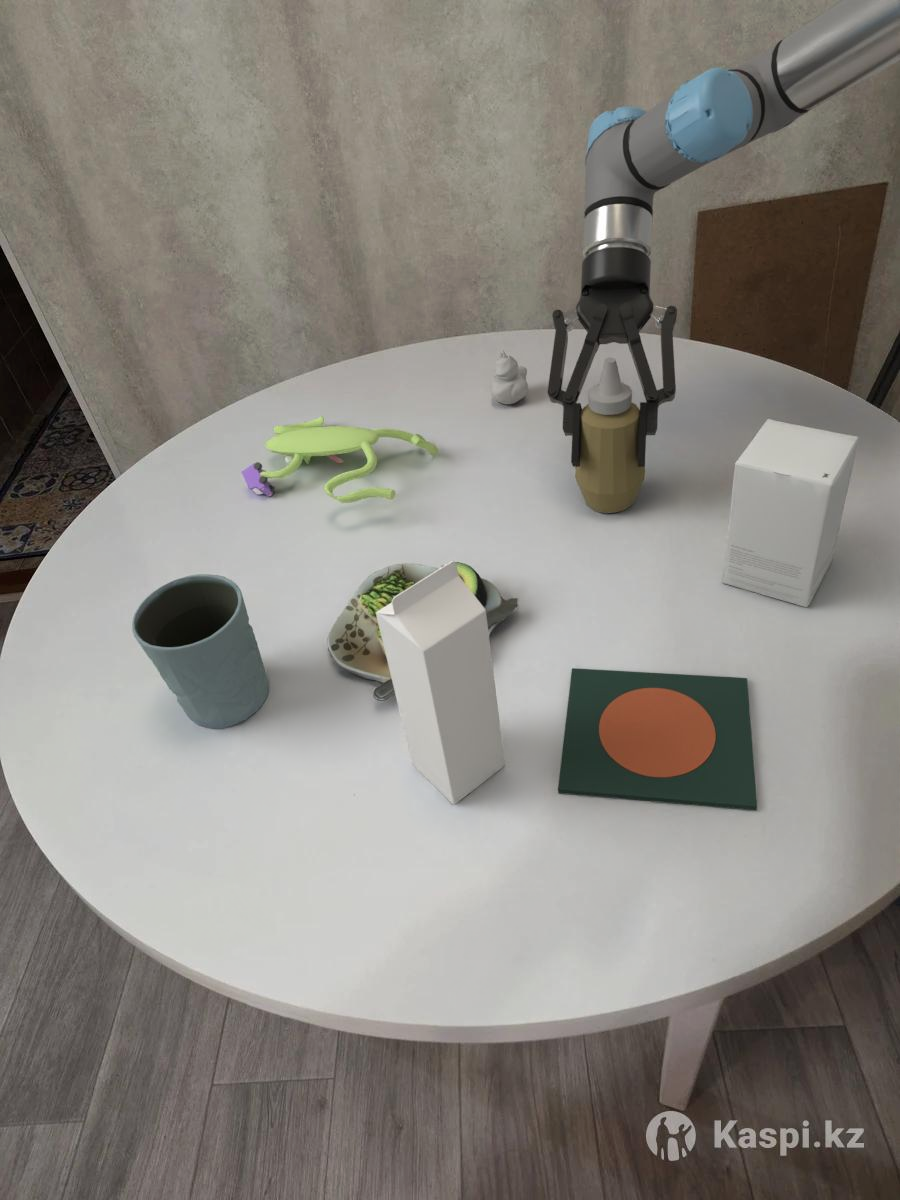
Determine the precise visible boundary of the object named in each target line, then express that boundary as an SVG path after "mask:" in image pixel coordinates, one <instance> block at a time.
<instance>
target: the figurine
mask: <svg viewBox="0 0 900 1200" xmlns="http://www.w3.org/2000/svg"><path fill="white" fill-rule="evenodd" d="M324 424H325V419H324V415H323V414H321V416H320V417H317V418H315V419H311V420H308V421H305V422H298V423H292V424H285V425H277V426H274V428H273V433H274V434H275V436H273V437H271V438H269V439H268V440H267V441H266V442H265V445H264V447H265V448H266V450H268V451H270V452H271V453H274V454H278V455H282V456H284V461H285V463H286V464H287V466H285V467H283V468H281V469H279V470H273V471H272V470H271V471H270V470H264V469H263V464H262V463H261V462H259V461H256V462H254V463H252V464H251V465H249V466H247V467H246V468H245V469H243V470H242V471H241V474H242V477H243V479H244V480H245V483H246V485H247V487H248V489H249V490H250V491H252V492H253V493H254V494H255V495H256V496H261V495H265V496H267V497H268V498H270V496H273V495H274V492H275V491H276V488H275V486H274V485H272V484H270V483H269V479H284V478H286V477H289V476H291V475H292V474H293V473H295V472H296V471H297V469H299V467H300V466H301V465H302V462H303V460H304V461H305V463H306V465H309V463H310V461H311V458H312V457H326V458H329V459H331V460H332V461H334V462H335V463H338V464H342V463H344V460H343V459H342V458H340V457H338V456H337V455H341V454H347V453H351V452H356V451H360V450H362V451H363V452H364V455H365V457H366V460H367V462H366V464H365V465H363V466H362V467H361V468H357V469H352V470H349V471H346V472H342V473H339V474H337V475H336V476H334V477H331V478H330V479H329V480H328V481H327V482H326V483H325V485H324V487H323V490H324V491H325V493H326V495H328V496H329V497H330V498H333V499H334V500H337V501H338V502H339V503H341V504H350V503H355V502H359V501H361V500H364V499H369V498H384V499H388V500H394V499H395V497H396V490H394V489H391V488H386V487H379V486H373V487H366V488H361V489H358V490H355V491H353V492H351V493H347V494H345V495H344V494H343V495H335V494H334V493H333V491H334V489H336V488H337V487H338V486H341V485H343V484H345V483H347V482H350V481H353V480H357V479H361V478H364V477H366V476H368V475H369V474H371V473H372V472H373V471H374V470H375V469H376V468H377V462H378V459H377V455H376V453H375V450H374V448H373V447H372V445H375V444H376V443H377V442H378V441H379V439H380V438H390V439H397V440H402V441H405V442H408V443H410V444H412V445H414V446H415V447H417V448H420V449H422V450H425V451H428V452H429V453H430V455H431V456H433V457H435V456H436V455H438V453H439V448H438V446H437V445H436V444H435V443H432V442H430V441H427V440H426V439H425V438H424V437H423V435H421V434H419V433H416V434H414V433H412V432H411V433H410V432H409V431H408V432H407V431H405V430H400V429H395V428H376V429H370V428H365V427H360V426H345V425H332V426H330V425H329V426H323V425H324Z"/></svg>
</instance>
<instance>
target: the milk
mask: <svg viewBox="0 0 900 1200" xmlns="http://www.w3.org/2000/svg"><path fill="white" fill-rule="evenodd" d="M456 562H457V561H455V560H451V561H449V562H447V563H448V564H447V563H446V564H444V565H445V566H443V567H441V566H440V568H438V570H437V571H435V572H433V573H432V574H430V575H428V576H427V577H425V578H424V579H422V580H420V581H419V582H417V583H416V584H414V585H412V586H411V587H409V588H408V589H406V590H404V591H403V592H401V593H399V594H398V595H396V596H395V597H394V598H393V600H392V603H390V604H388V605H387V606H385V607H384V608H382V609H380V610H379V611H377V612H376V616H377V620H378V625H379V629H380V633H381V637H382V641H383V645H384V649H385V653H386V657H387V662H388V666H389V670H390V674H391V678H392V682H393V686H394V690H395V698H396V703H397V706H398V710H399V714H400V720H401V723H402V728H403V731H404V737H405V740H406V744H407V748H408V752H409V754H410V755H409V756H410V760H411V764H412V766H413V767H414V768H415V769H416V770H417V771H419V773H420V774H421V775H422V776H423V777H424V778H426V780H428V781H429V782H430V784H432V785H433V786H434V787H435V788H436V789H437V790H438V791H439V792H440V793H441V794H442V795H443V796H444V797H445V798H446V799H447V800H449V802H450V803H452V804H453V805H456V804H457V803H459V802H460V801H461V800H462V799H464V798H465V797H466V796H468V795H469V794H471V793H472V792H473V791H474V790H476V789H477V788H478V787H480V786H481V785H482V784H484V783H485V782H486V781H487V780H489V779H490V778H491V777H492V776H494V775H495V774H497V772H499V771H500V770H501V769H503V768H504V767H505V766H506V760H505V752H504V745H503V735H502V730H501V720H500V713H499V704H498V696H497V690H496V681H495V672H494V665H493V658H492V648H491V643H490V635H489V633H488V625H487V617H486V610H485V608H484V607H483V606H482V604H481V603H480V602H479V601H478V599H477V598H476V597H475V596H474V594H473V593H472V592H471V590H470V589H469V588H468V587H467V585H466V584H465V583H464V582H463V580H462V579H461V578H460V577H459V575H458V570H457V564H456Z"/></svg>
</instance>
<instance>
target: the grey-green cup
mask: <svg viewBox="0 0 900 1200" xmlns="http://www.w3.org/2000/svg"><path fill="white" fill-rule="evenodd" d="M131 631H132V634H133V637H134V639H135V640H136V641H137V643H138V644H139V646H140V647H141V649H142V650H143V651H144V653H145V655H146V657H148V658H149V660H150V661H151V662H152V664H153V665H154V667H155V668H156V670H157V672H158V673H159V675H160V677H161V679H162V680H163V681H164V683H165V684H166V686H167V687H168V689H169V690H170V691H171V692H172V694H174V695H175V696H176V700H177V703H178V704H179V706H180V707H181V708H182V710H183V711H184V713H185V714H186V716H187V717H188V718H189V719H190V720H191V721H192V722H193V723H194V724H196V725H197V726H200V727H203V728H207V729H213V730H214V729H226V728H228V727H229V728H230V727H233V726H235V725H236V724H240V723H242V722H244V721H246V720H247V719H249V718H250V717H251V716H253V715H254V714H255V713H256V712H257V711H258V710H260V708H261V707H263V705H264V704H265V702H266V700H267V698H268V695H269V691H270V690H269V687H270V684H269V683H270V682H269V677H268V674H267V671H266V667H265V665H264V662H263V658H262V656H261V651H260V649H259V646H258V645H259V644H258V640H257V639H256V634H255V632H254V628H253V627H252V626H251V624H250V617H249V614H248V610H247V606H246V603H245V599H244V596H243V592H242V590H241V588H240V587H239V585H238V584H237V583H236V582H235V581H233V580H232V579H230V578H227V577H225V576H223V575H218V574H208V573H207V574H206V573H205V574H204V573H201V574H192V575H187V576H183V577H180V578H177V579H174V580H172V581H170V582H167V583H166V584H164V585H162V586H160V587H158V588H156V589H155V590H154V591H152V592H151V593H150V594H149V595H148V596H147V597H145V599H144V600H142V602H141V603H140V605H139V606H138V607H137V609H136V611H135V612H134V614H133V617H132V622H131Z"/></svg>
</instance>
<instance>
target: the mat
mask: <svg viewBox="0 0 900 1200" xmlns="http://www.w3.org/2000/svg"><path fill="white" fill-rule="evenodd" d="M570 674H571V675H570V682H569V691H568V700H567V708H566V717H565V724H564V726H565V727H564V734H563V742H562V749H561V750H562V751H561V759H560V766H559V767H560V768H559V776H558V777H559V779H558V785H557V793H558V794H563V795H566V794H567V795H575V796H577V795H578V796H589V797H598V798H609V799H610V798H611V799H623V800H633V801H646V802H655V803H656V802H658V803H666V804H668V803H669V804H678V805H679V804H681V805H690V806H701V807H702V806H703V807H715V808H726V809H735V810H737V809H738V810H747V811H757V809H758V800H757V799H758V797H757V788H756V787H757V786H756V775H755V763H754V762H755V760H754V750H753V749H754V748H753V738H752V725H751V724H752V723H751V712H750V702H749V701H750V698H749V688H748V678H747V677H737V676H735V677H734V676H720V675H719V676H718V675H701V674H684V673H683V674H682V673H665V672H646V671H630V670H628V671H627V670H614V669H613V670H612V669H593V668H592V669H591V668H590V669H589V668H575V667H573V668H571V673H570Z"/></svg>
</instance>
